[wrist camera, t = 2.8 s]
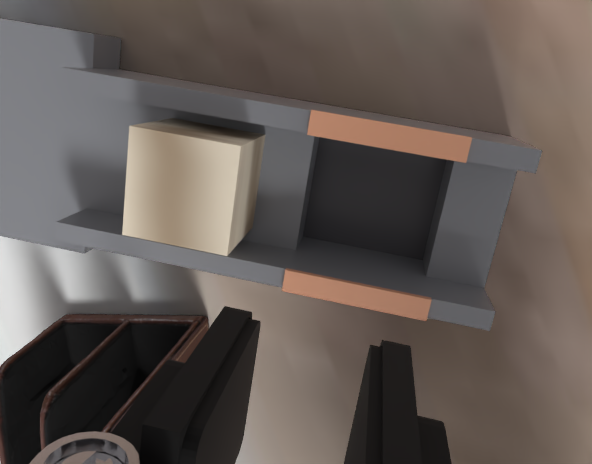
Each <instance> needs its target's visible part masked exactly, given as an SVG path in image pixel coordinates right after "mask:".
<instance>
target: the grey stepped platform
mask: <svg viewBox="0 0 592 464" xmlns="http://www.w3.org/2000/svg"><path fill="white" fill-rule="evenodd" d="M120 51H121V38H118V37H112V36H106V35H99V34H93V33H87V32H81V31H75V30H69V29H63V28H57V27H51V26H45V25H39V24H33V23H27V22H21V21H14V20H8V19H2V18H0V236H4V237H8V238H13V239H18V240H23V241H27V242H32V243H37V244H42V245H47V246H51V247H56V248H61V249H66V250H70V251H75V252H80V253H86V252H88V251H89V250H91V249H93V248H94V249H99V250H104V251H109V252H113V253H118V254H123V255H128V256H133V257H137V258H142V259H147V260H152V261H157V262H161V263H166V264H171V265H176V266H181V267H185V268H190V269H195V270H200V271H205V272H209V273H214V274H219V275H224V276H229V277H233V278H238V279H243V280H248V281H253V282H257V283H262V284H267V285H272V286H277V287H281V288H282V291H284V292H289V293H294V294H298V295H303V296H308V297H313V298H317V299H322V300H327V301H332V302H337V303H341V304H346V305H351V306H356V307H360V308H365V309H370V310H375V311H380V312H384V313H389V314H394V315H399V316H404V317H408V318H413V319H418V320H423V321H427V318H430V319H435V320H440V321H445V322H449V323H454V324H459V325H464V326H469V327H473V328H478V329H483V330H488V331H490V329H491V326H492V322H493V319H494V315H495V310H494V308H493V306H492V303H491V301H490V299H489V297H488V295H487V293H486V291H485V289H484V287H485V283H486V280H487V276H488V273H489V269H490V266H491V262H492V258H493V255H494V251H495V248H496V244H497V241H498V237H499V233H500V230H501V226H502V223H503V219H504V216H505V212H506V208H507V205H508V201H509V198H510V194H511V191H512V187H513V183H514V180H515V176H516V173H517V170H519V171H525V172H531V173H536V171H537V167H538V164H539V160H540V157H541V153H542V150H540V149H538V148H536V147H534V146H531V145H529V144H527V143H525V142H523V141H520V140H518V139H516V138H514V137H511V136H506V135H501V134H495V133H489V132H483V131H477V130H471V129H466V128H460V127H454V126H448V125H442V124H436V123H431V122H425V121H419V120H413V119H407V118H401V117H395V116H390V115H384V114H378V113H372V112H366V111H360V110H355V109H349V108H343V107H337V106H331V105H325V104H319V103H314V102H308V101H302V100H296V99H290V98H284V97H279V96H273V95H267V94H261V93H255V92H249V91H243V90H238V89H232V88H226V87H220V86H214V85H208V84H203V83H197V82H191V81H185V80H179V79H173V78H168V77H162V76H156V75H150V74H144V73H138V72H132V71H127V70H121V69H119V68H120ZM169 118H175V119H181V120H186V121H192V122H198V123H203V124H209V125H214V126H220V127H226V128H231V129H237V130H242V131H248V132H254V133H259V134H265V142H264V149H263V156H262V163H261V170H260V178H259V185H258V192H257V199H256V206H255V213H254V221H253V227H252V229H251V230H250V231H249V232H248V233H247V234H246V235H245V236H244V238H243V239H242V240H241V241H240V242H239V243H238V244H237V246H236V247H235V248H234V249H233V250H232V251H231V252H230V253H229V255H228V256H224V255H219V254H214V253H209V252H204V251H199V250H194V249H189V248H184V247H179V246H175V245H170V244H165V243H160V242H155V241H150V240H145V239H140V238H135V237H131V236H126V235H122V230H123V215H124V200H125V185H126V170H127V155H128V140H129V126H131V125H137V124H142V123H147V122H153V121H158V120H164V119H169Z"/></svg>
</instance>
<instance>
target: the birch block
mask: <svg viewBox="0 0 592 464" xmlns="http://www.w3.org/2000/svg"><path fill="white" fill-rule="evenodd" d="M264 142H265V134H259V133H254V132H248V131H242V130H237V129H231V128H226V127H220V126H214V125H209V124H203V123H198V122H192V121H186V120H181V119H175V118H169V119H164V120H158V121H153V122H147V123H142V124H137V125H131V126H129V140H128V155H127V170H126V185H125V200H124V215H123V230H122V235H126V236H131V237H135V238H140V239H145V240H150V241H155V242H160V243H165V244H170V245H175V246H179V247H184V248H189V249H194V250H199V251H204V252H209V253H214V254H219V255H224V256H228V255H229V253H230V252H231V251H232V250H233V249H234V248H235V247H236V246H237V244H238V243H239V242H240V241H241V240H242V239H243V238H244V236H245V235H246V234H247V233H248V232H249V231H250V230H251V229H252V227H253V221H254V213H255V206H256V199H257V192H258V185H259V178H260V170H261V163H262V156H263V149H264Z"/></svg>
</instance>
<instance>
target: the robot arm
mask: <svg viewBox="0 0 592 464" xmlns="http://www.w3.org/2000/svg"><path fill="white" fill-rule="evenodd" d="M259 332H260V321H257V320H252V312H249V311H244V310H240V309H235V308H230V307H226V306H225V307H224V308H223V309H222V311H221V312H220V314H219V315H218V317H217V318H216V319H215V321H214V322H213V324H212V325H211V327H210V328H209V329H208V331H207V332H206V334H205V335H204V337H203V338H202V339H201V341H200V342H199V344H198V345H197V347H196V348H195V349H194V351H193V352H192V354H191V355H190V357H189V358H188V359H187V361H186V362H185V363H183V362H179V361H174V360H167V361H166V362H165V363H164V364H163V366H162V367H161V368H160V369H159V371H158V372H157V373H156V375H155V376H154V377H153V379H152V380H151V381H150V382H149V384H148V385H147V386H146V388H145V389H144V390H143V391H142V393H141V394H140V395H139V397H138V398H137V399H136V401H135V402H134V403H133V404H132V406H131V407H130V408H129V410H128V411H127V412H126V413H125V415H124V416H123V417H122V419H121V420H120V421H119V423H118V424H117V425H116V426H115V428H114V429H113V430H112V432H111V433H105V432H96V431H93V432H81V433H76V434H72V435H69V436H65V437H62V438H60V439H58V440H57V441H55V442H53V443H51V444H49V445H48V446H46V447H45V448H44V449H43V450H42V451H41V452H40V453H38V454H37V455H36V457H35V458H34V459H33V460H32V461H31V462H30V463H29V464H235V462H236V459H237V456H238V454H239V451H240V448H241V444H242V441H243V436H244V430H245V424H246V417H247V410H248V404H249V397H250V391H251V384H252V378H253V371H254V364H255V358H256V351H257V345H258V338H259ZM344 464H451V459H450V453H449V448H448V442H447V436H446V431H445V426H444V423H443V422H442V421H438V420H434V419H430V418H425V417H421V416H417V407H416V397H415V387H414V377H413V367H412V357H411V348H410V346H408V345H403V344H398V343H394V342H389V341H384V340H382V342H381V345H380V347H378V346H373V345H370V348H369V352H368V356H367V361H366V365H365V370H364V374H363V379H362V384H361V388H360V393H359V397H358V402H357V406H356V411H355V415H354V420H353V424H352V429H351V433H350V438H349V443H348V447H347V452H346V456H345V461H344Z"/></svg>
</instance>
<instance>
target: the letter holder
mask: <svg viewBox="0 0 592 464" xmlns="http://www.w3.org/2000/svg"><path fill="white" fill-rule="evenodd" d="M207 331H208V318H207V317H205V316H185V315H171V316H170V315H120V314H118V315H107V314H104V315H103V314H88V315H86V314H69V315H65V316H63V317H62V318H61V319H59V320H58V321H56V322H55V323H53V324H52V325H51V326H50V327H48V328H47V329H46V330H44V331H43V332H42V333H41V334H40V335H38V336H37V337H36V338H35V339H33V340H32V341H31V342H29V343H28V344H27V345H25V346H24V347H23V348H22V349H21V350H19V351H18V352H16V353H15V354H14V355H12V356H11V357H9V358H8V359H7V360H6V361H5V362H4V363H3V364H2V365H1V366H0V461H1V464H29V463H30V462H31V461H32V460H33V459H34V458H35V457H36V455H37V454H38V453H40V452H41V451H42V450H43V449H44V448H45V447H46V446H48V445H49V444H51V443H53V442H55V441H57V440H58V439H60V438H62V437H65V436H69V435H72V434H76V433H81V432H93V431H96V432H105V433H111V432H112V430H113V429H114V428H115V426H116V425H117V424H118V423H119V421H120V420H121V419H122V417H123V416H124V415H125V413H126V412H127V411H128V410H129V408H130V407H131V406H132V404H133V403H134V402H135V401H136V399H137V398H138V397H139V395H140V394H141V393H142V391H143V390H144V389H145V388H146V386H147V385H148V384H149V382H150V381H151V380H152V379H153V377H154V376H155V375H156V373H157V372H158V371H159V369H160V368H161V367H162V366H163V364H164V363H165V362H166V361H167V360H174V361H179V362H183V363H185V362H186V361H187V359H188V358H189V357H190V355H191V354H192V352H193V351H194V349H195V348H196V347H197V345H198V344H199V342H200V341H201V339H202V338H203V337H204V335H205V334H206V332H207Z"/></svg>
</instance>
